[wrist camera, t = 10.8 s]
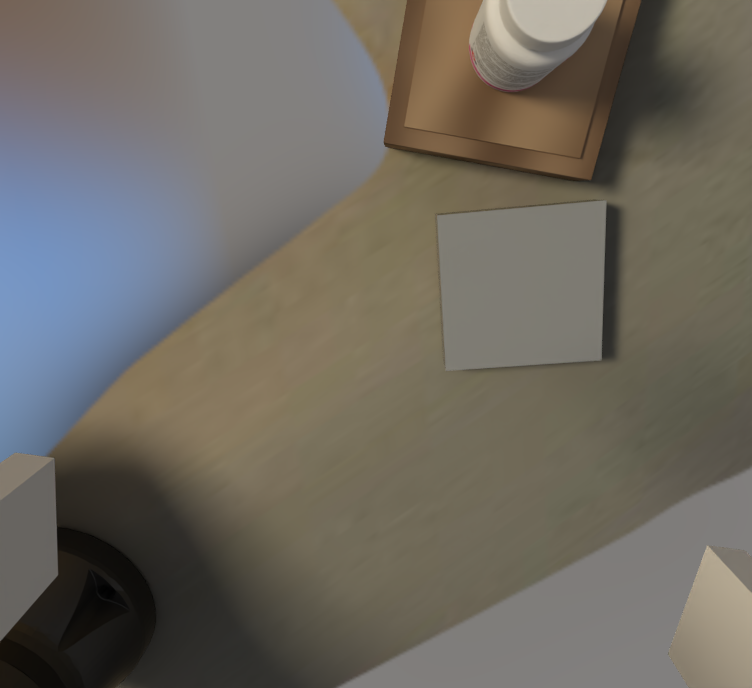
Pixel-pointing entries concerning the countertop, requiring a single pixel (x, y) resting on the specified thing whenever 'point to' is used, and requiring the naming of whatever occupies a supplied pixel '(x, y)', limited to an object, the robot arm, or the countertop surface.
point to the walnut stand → (504, 95)
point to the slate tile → (522, 284)
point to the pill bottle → (528, 38)
